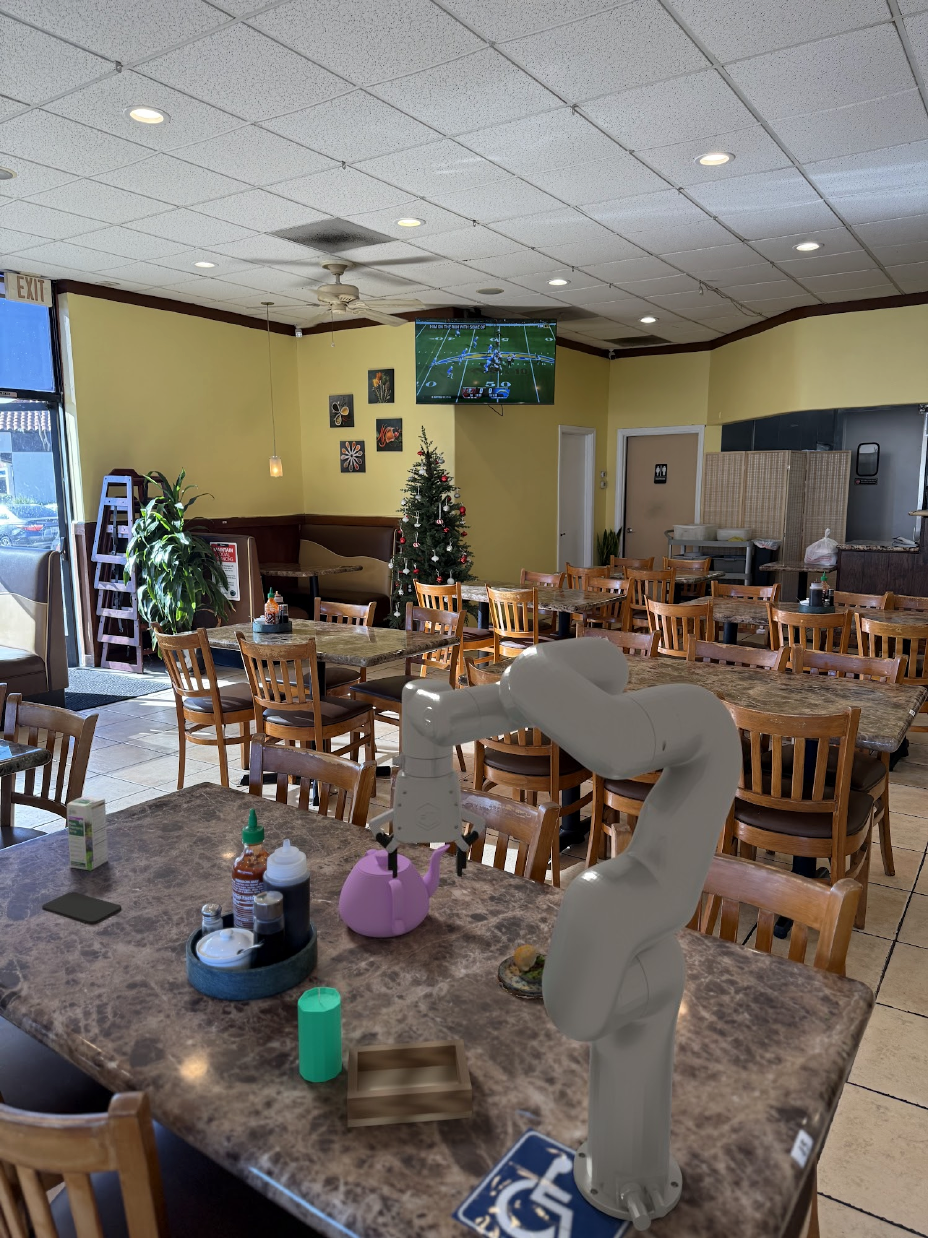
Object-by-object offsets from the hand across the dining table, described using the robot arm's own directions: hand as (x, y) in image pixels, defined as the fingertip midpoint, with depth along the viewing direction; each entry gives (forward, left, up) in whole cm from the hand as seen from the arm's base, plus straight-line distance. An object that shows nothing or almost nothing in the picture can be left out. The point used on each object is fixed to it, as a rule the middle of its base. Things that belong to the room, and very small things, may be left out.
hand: (427, 873), depth 128 cm
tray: (-16, +4, -24) cm, 29 cm away
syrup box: (+65, +70, -24) cm, 98 cm away
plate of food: (+10, -18, -24) cm, 32 cm away
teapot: (+33, +4, -24) cm, 41 cm away
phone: (+44, +65, -24) cm, 82 cm away
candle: (-9, +16, -24) cm, 30 cm away
